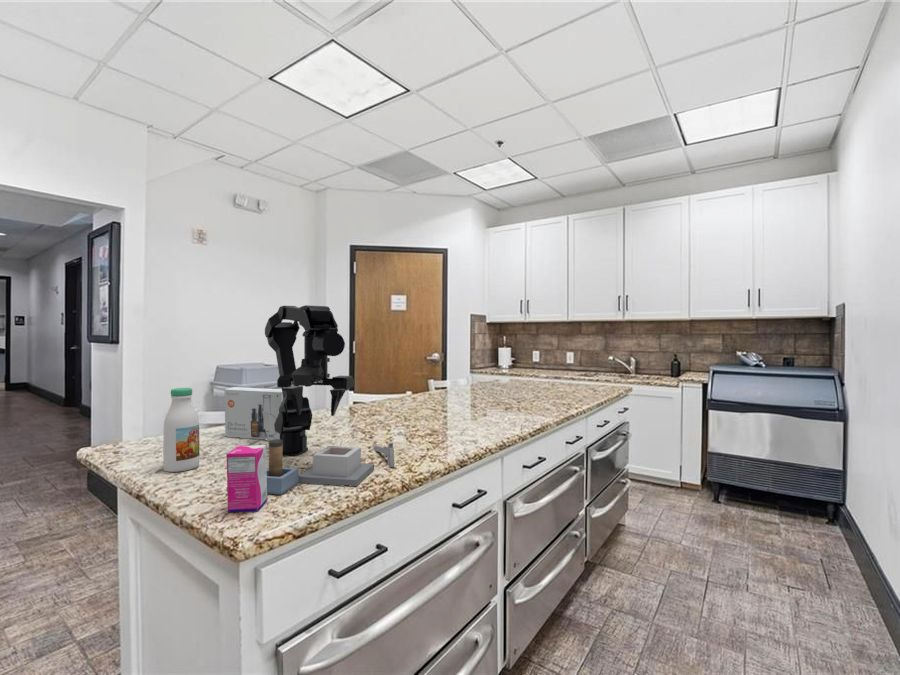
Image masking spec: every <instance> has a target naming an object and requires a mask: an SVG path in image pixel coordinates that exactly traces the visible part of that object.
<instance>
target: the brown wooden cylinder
mask: <svg viewBox="0 0 900 675" xmlns="http://www.w3.org/2000/svg"><path fill="white" fill-rule="evenodd" d="M283 456H284V455H283V440H281V439H274V440H268V468H269V476H274V477H281V476H282V470H283V468H284V467H283V465H284V464H283V463H284V462H283V460H284V459H283Z"/></svg>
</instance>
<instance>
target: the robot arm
mask: <svg viewBox="0 0 900 675" xmlns="http://www.w3.org/2000/svg"><path fill="white" fill-rule="evenodd" d="M283 320H284V321H283ZM285 320H287V321H288V320H289V321H293V322H287V321H286V322H285ZM300 326H301V327H302V328H303V329H304V331H303V332H302V337H304V340H303V342H304V347H303V348H304V349H303V350H304V356H303V357H304V358H302V359H301V362H300V364H301V365H300V366H299V367H297V365H296V361H295V355H294V350H293V347H294V345H295V342H296V341H297V335H298V332H299V331H300ZM338 327H339V325H338V323H337V322H336V319H335V317H334V314H333V312H332V310H331V308H330V307H329V306H325V305H309V304H308V305H301V306H299V307H298V306H295V305H280V306H279V307H278V310H277V312H275V313H274V314H273V315H271V316H270V317H269V318H268V320H267V323H266V325H265V327H264V336H265V338H266V340H267V344H268V346H269V347H270V348H271V349H272V350H273V351H274V352H275V357H276V362H277V369H278V374H279V376H278V377H277V378H278V379H276V388H281V389H282V394H283V401H282V403H281V405H280V407H279V414H278V417H277V419H276V421H275V423H274V427H275V432H277V433H279V434H280V439H281V440H283V456H285V455H286V456H299V455H301V454H302V453H304V452H306V451H308V450H309V447H308V435H306V431H310V430H311V426H312V419H313V412H312V409H311V407H310V401H309V399H308V396H305V397H304V396H303V391H304V387H311V386H330V387H332V389H329V392H330V395H331V401H330V403H331V404H330V416H331V417H334V416H335V415H336V412H337V410H338V407H339V405H340V402H341V401H342V399H343V396H344V395H345V392H346V391H349V390H350V388H353V387H355V379H354V376H352V375H338V376H332V377H331V378H330V375H331V374H330V373H328V368H329V367H328V364H329V363H330V360H331V358H330V357H337V356H340V355H341V354H342V353H343V351H344V349H345V347H346V342H345V340H344V338H343V337H344V336H342V335H341V334H340V333H339V332H338V331H339V329H338Z"/></svg>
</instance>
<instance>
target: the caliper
mask: <svg viewBox="0 0 900 675" xmlns="http://www.w3.org/2000/svg"><path fill="white" fill-rule="evenodd" d="M373 448H374V449H373ZM372 449H373V450H374V451H375V452H379V453H381V454H383V457H385V458H387V459H386V460H387V466H388V465H389V466H388V467H389V468H390V467H392V468H395V451H394V444H393V442H388V443H387V445H384V446H383V445H378V444H377V445H376V444H375V445H373V447H372Z"/></svg>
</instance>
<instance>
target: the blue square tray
mask: <svg viewBox="0 0 900 675" xmlns="http://www.w3.org/2000/svg"><path fill="white" fill-rule="evenodd" d="M266 469H267V495H271V494H275V495H274V496H283V495H285V494H286V493H288V492H289V491H291V490H292V489H294V488H295V487H296V486H298V485H299V484H300V483H299V475H300V473H299V472H300V470H299V469H300V468H296V467H283V470H282V476H281V477H274V476H269V467H266ZM297 484H298V485H297ZM294 486H295V487H294ZM291 488H292V489H291ZM288 490H289V491H288ZM284 493H285V494H284Z"/></svg>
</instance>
